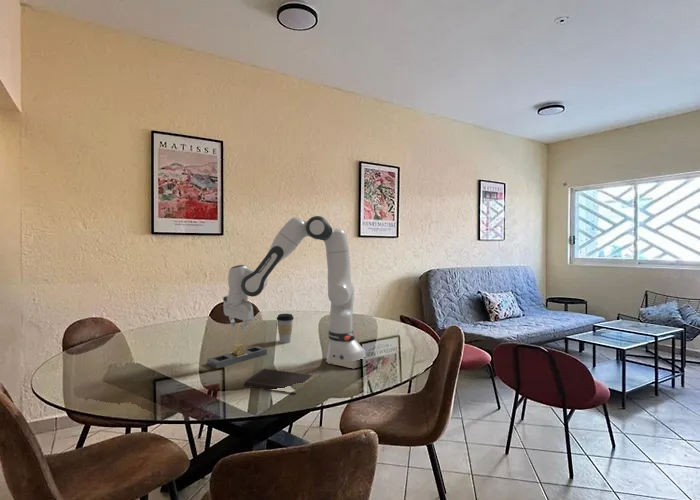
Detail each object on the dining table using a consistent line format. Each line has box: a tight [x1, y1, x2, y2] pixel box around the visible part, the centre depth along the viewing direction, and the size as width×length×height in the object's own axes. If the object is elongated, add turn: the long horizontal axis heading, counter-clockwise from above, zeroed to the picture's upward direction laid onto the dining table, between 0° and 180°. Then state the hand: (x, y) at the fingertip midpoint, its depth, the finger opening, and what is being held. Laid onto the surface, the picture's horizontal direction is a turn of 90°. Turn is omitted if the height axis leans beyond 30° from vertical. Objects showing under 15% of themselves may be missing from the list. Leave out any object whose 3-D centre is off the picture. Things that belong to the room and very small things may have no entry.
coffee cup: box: [276, 313, 295, 344], centre depth 224 cm, size 9×9×15 cm
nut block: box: [231, 342, 245, 356], centre depth 195 cm, size 4×4×7 cm
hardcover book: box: [243, 368, 313, 390], centre depth 167 cm, size 16×23×2 cm
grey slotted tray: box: [206, 345, 268, 369], centre depth 195 cm, size 8×28×3 cm, turn 139°
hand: (238, 327), depth 194 cm, fingers open, 8 cm apart
